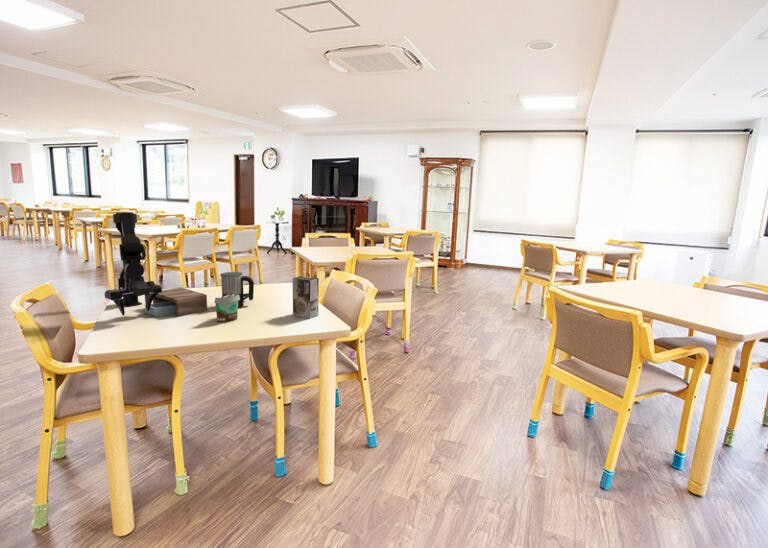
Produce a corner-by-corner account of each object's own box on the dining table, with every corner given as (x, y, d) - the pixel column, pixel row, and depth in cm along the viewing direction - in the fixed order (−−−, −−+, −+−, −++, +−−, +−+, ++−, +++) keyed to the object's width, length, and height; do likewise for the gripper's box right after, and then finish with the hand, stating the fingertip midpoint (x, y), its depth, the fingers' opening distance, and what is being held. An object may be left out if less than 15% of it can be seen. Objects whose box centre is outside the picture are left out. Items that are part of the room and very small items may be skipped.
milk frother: (223, 309, 181) (222, 275, 178) (215, 301, 194) (214, 269, 191) (257, 306, 189) (256, 273, 186) (247, 298, 202) (246, 268, 199)
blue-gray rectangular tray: (145, 313, 171) (145, 305, 171) (183, 306, 184) (183, 298, 184) (155, 317, 167) (155, 308, 166) (193, 309, 180) (193, 301, 179)
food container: (229, 324, 161) (228, 299, 159) (215, 323, 162) (214, 298, 160) (246, 316, 173) (245, 292, 171) (232, 314, 174) (232, 291, 172)
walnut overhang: (153, 307, 180) (152, 291, 178) (181, 302, 190) (180, 287, 189) (178, 316, 168) (177, 299, 167) (207, 310, 179) (206, 294, 177)
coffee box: (319, 315, 178) (319, 277, 175) (310, 319, 173) (310, 280, 170) (301, 312, 182) (301, 275, 179) (292, 315, 176) (291, 277, 173)
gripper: (116, 279, 150) (119, 322, 152) (168, 273, 165) (170, 312, 167) (102, 275, 156) (105, 316, 159) (153, 269, 171) (156, 307, 174)
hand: (135, 313), depth 164 cm, fingers open, 9 cm apart
